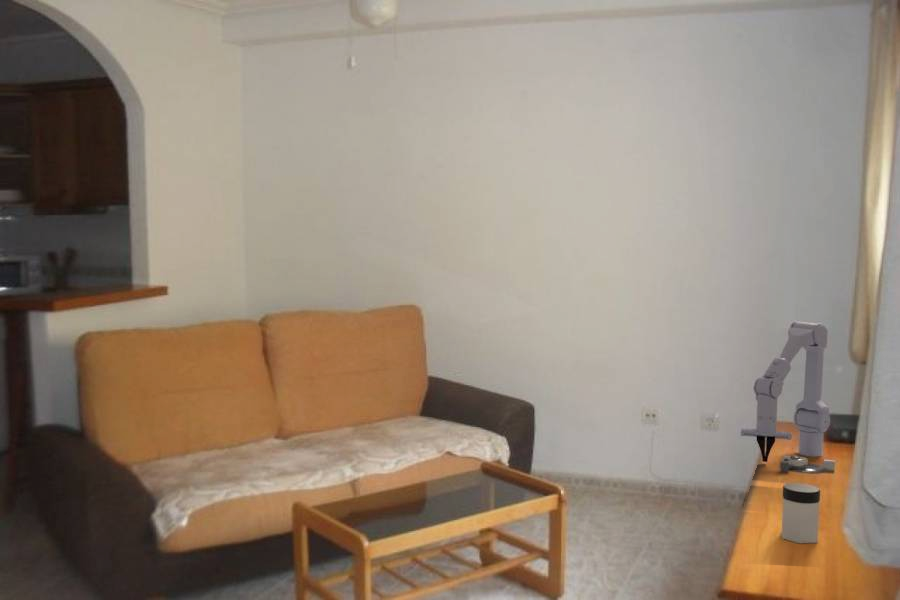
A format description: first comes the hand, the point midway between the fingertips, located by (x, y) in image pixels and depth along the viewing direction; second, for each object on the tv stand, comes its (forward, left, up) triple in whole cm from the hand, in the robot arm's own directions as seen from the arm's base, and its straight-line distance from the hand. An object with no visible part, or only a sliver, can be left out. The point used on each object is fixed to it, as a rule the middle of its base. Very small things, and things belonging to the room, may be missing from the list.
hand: (764, 461), depth 278 cm
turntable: (0, +12, -2) cm, 12 cm away
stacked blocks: (+8, +6, -2) cm, 10 cm away
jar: (+65, +9, -3) cm, 66 cm away
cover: (0, +9, -1) cm, 9 cm away
